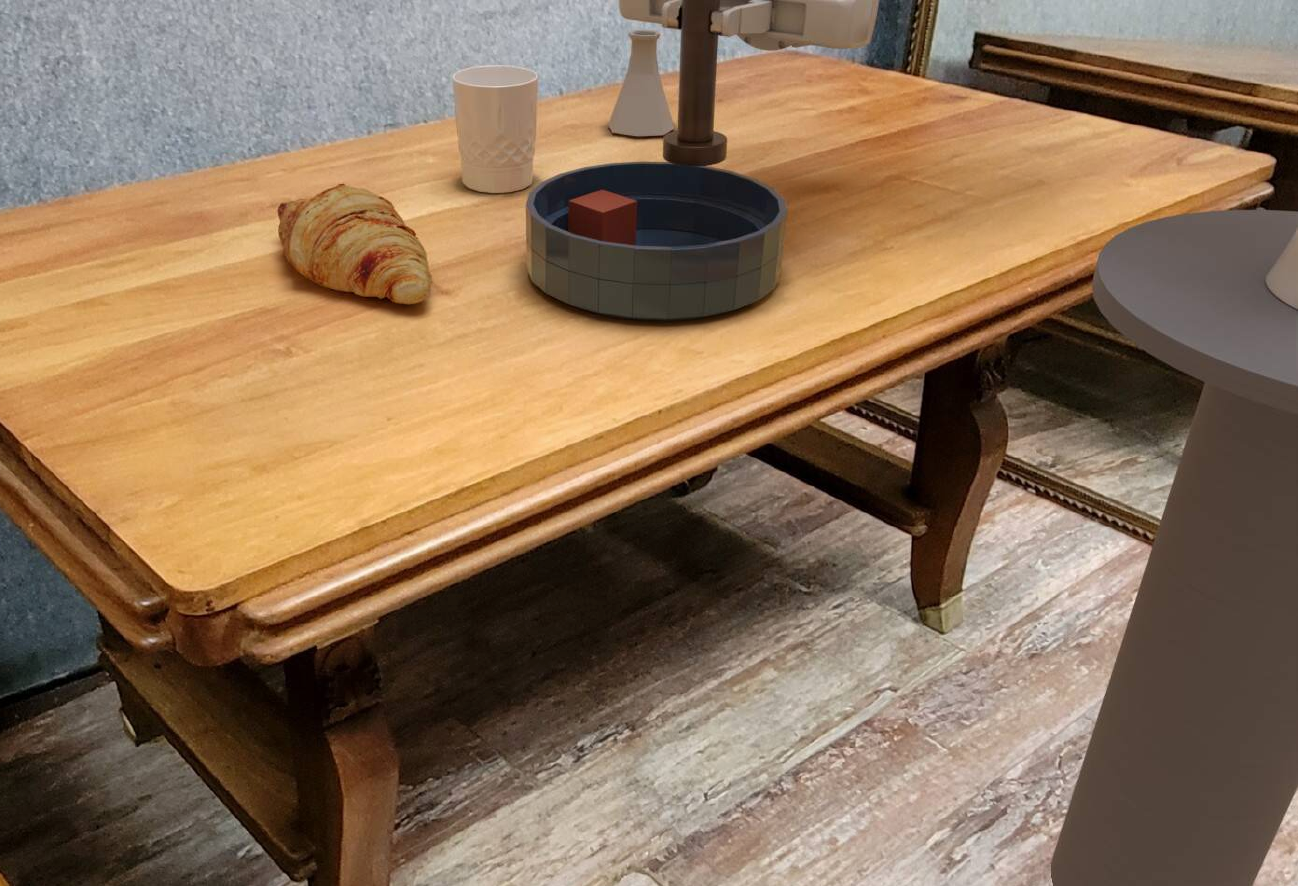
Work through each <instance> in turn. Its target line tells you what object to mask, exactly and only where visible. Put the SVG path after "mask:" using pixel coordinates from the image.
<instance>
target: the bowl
mask: <svg viewBox="0 0 1298 886" xmlns="http://www.w3.org/2000/svg"><path fill="white" fill-rule="evenodd" d="M600 190H606V191H609V192H612V193H615V194H618V195H621V196H624V197H627V198H630V199H633V200H636V201H637V220H636V246H634V245H627V244H619V243H611V242H604V241H599V240H595V239H591V238H587V237H583V236H579V235H575V234H572V233H570V232H568V216H569V200H572V199H575V198H578V197H581V196H584V195H587V194H590V193H593V192H596V191H600ZM787 218H788V207H787V203H786V198H784V197H783V196H782V195H781V194H780V193H779V192H778V191H777V190H776V189H775V188H774V187H772V186H770V185H768V184H766V183H765V182H763V181H760V180H759V179H757V178H754V177H751V176H748V175H745V174H742V173H740V172H739V173H738V172H736V171H733V170H729V169H724V168H719V167H713V166H710V165H708V166H682V165H677V164H673V163H670V162H668V161H645V160H644V161H642V160H641V161H628V162H627V161H624V162H609V163H603V164H597V165H591V166H584V167H580V168H577V169H573V170H568V171H565V172H562V173H558V174H556V175H554V176H552V177H550V178H548V179H545V180H543V181H541V182H540V183H538V184H537V185H536V186H535V187H534V188H533V189H531V191H529V193H528V196H527V198H526V202H525V246H526V247H525V249H526V251H525V253H526V258H525V259H526V271H527V274H528V275H529V277H530V280H531V282H532V283H533V284H534V285H535V286H537V287H538V288H539V289H540V290H541V291H542V292H543V293H544V294H547V295H548V296H551V297H553V298H555V299H556V300H559V301H560V302H563V303H565V304H567V305H570V306H573V307H575V308H577V309H580V310H584V311H586V312H590V313H595V314H598V315H602V316H607V317H612V318H618V319H626V320H635V321H651V322H653V321H654V322H655V321H658V322H659V321H663V322H668V321H685V320H694V319H701V318H707V317H712V316H717V315H721V314H725V313H728V312H732V311H735V310H738V309H740V308H743V307H745V306H748V305H751V304H754V303H757V302H758V301H760V300H761V299H763V298H764V297H766V296H767V295H768V294H769V293H771V292H773V291H774V290H775V288H776V286H777V284H778V282H779V281H780V278H781V276H782V268H783V267H782V266H783V256H784V249H785V248H784V247H785V240H786V239H785V237H786V229H787V220H788V219H787Z"/></svg>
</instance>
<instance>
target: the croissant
mask: <svg viewBox="0 0 1298 886" xmlns="http://www.w3.org/2000/svg"><path fill="white" fill-rule="evenodd" d="M277 215H278V219H279V224H278V229H277V232H278V237H279V239H280V242H281V245H282V250H283V253H284V256H285V258H286V260H287V262H288V263H289V264H290V265H291V266H292V267H293V268H294V270H296V272H297V273H299V274H300V275H302V276H304V277H305V278H307V279H309V280H310V281H311V282H312V283H314V284H316V285H319V286H321V287H323V288H326V289H327V288H328V289H331V290H335V291H340V292H346V293H354V295H358V296H360V297H365V298H373V297H374V298H376V297H377V298H378V299H379V300H382V299H385V298H387V299H389V301H391V302H392V303H395V304H401V305H402V304H403V305H415V304H418V303H421V302H423V301H425V300H426V299H427V298H428V297H429V295H430V294H431V287H432V279H433V276H432V274H431V272H430V267H429V261H428V256H427V252H426V250H425V247H424V245H423V244H422V242H421V240H419V238H418V237H417V233H416V231H415V230H414V229H412V228H411V227H409V226H408V225H406V223H405V222H404V221H405V220H404V219H403V218H402V217H401V216H400V214H399V212H398V211H397V210H396V209H395V206H394V205H393V203H392V201H390V200H389V199H387V198H385V197H383V196H381V195H379V194H376V193H374V192H372V191H370V190H368V189H365V188H361V187H355V186H351V185H346V183H338V184H337V185H336V186H333V187H331V188H327V189H325V190H323V191H321V192H319V193H317V194H315V195H314V196H313V197H309V198H299V199H297V200H294V201H293V200H290V201H287V202H280V204H279V206H278V207H277Z"/></svg>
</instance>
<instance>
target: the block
mask: <svg viewBox="0 0 1298 886" xmlns="http://www.w3.org/2000/svg"><path fill="white" fill-rule="evenodd" d="M636 220H637V201H636V200H633V199H630V198H627V197H624V196H621V195H618V194H615V193H612V192H609V191H606V190H600V191H596V192H593V193H590V194H587V195H584V196H581V197H578V198H575V199H572V200H569V216H568V232H570V233H572V234H575V235H579V236H583V237H587V238H591V239H595V240H599V241H604V242H611V243H619V244H627V245H634V246H636Z"/></svg>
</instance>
